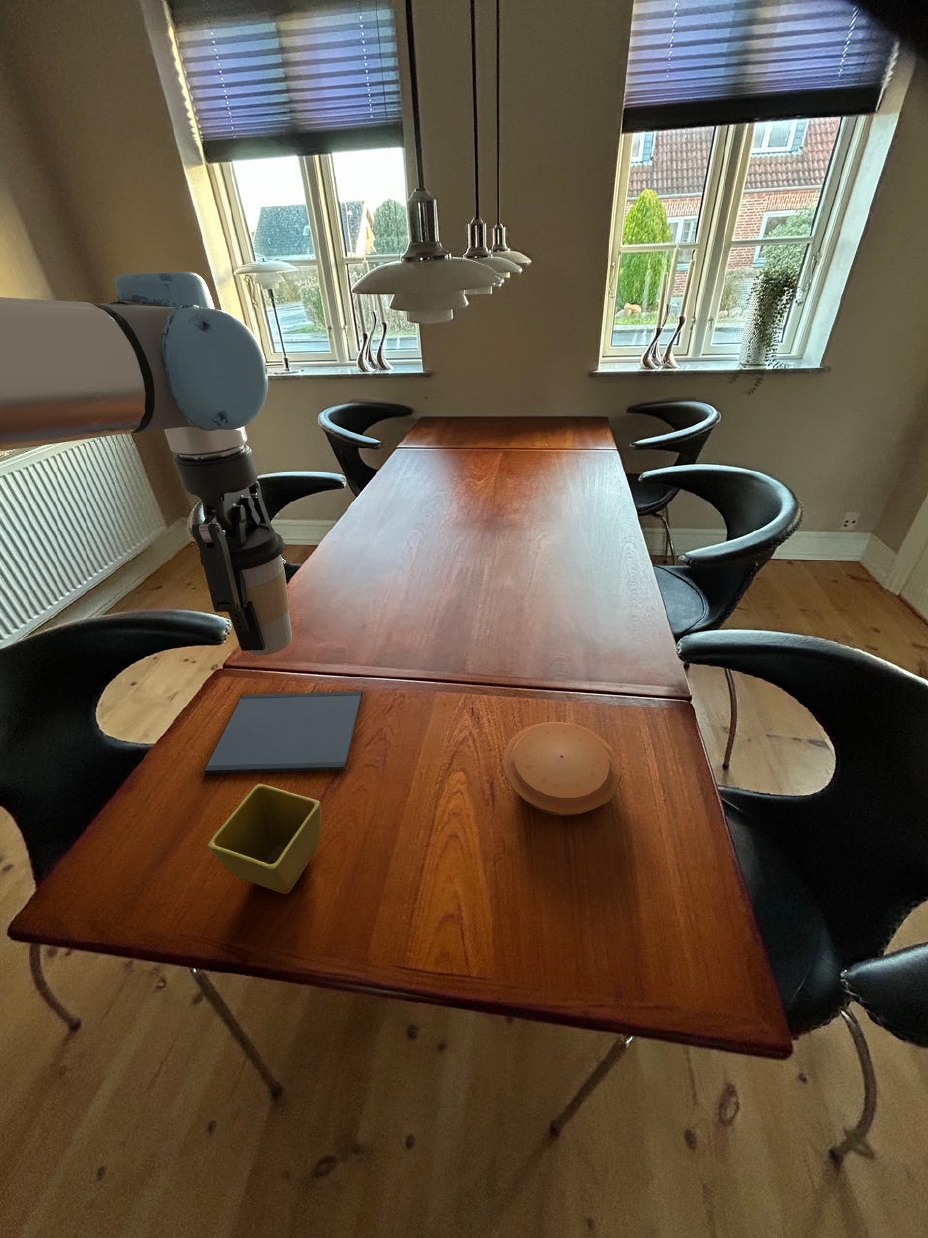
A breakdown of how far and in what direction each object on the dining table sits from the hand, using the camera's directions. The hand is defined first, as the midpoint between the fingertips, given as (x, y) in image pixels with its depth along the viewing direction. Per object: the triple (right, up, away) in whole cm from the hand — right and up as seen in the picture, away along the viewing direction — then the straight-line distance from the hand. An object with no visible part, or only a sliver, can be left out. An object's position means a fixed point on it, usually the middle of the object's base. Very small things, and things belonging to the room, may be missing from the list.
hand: (265, 627), depth 68 cm
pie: (+38, -21, +5) cm, 44 cm away
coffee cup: (0, -2, +1) cm, 2 cm away
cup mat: (-2, -16, +14) cm, 22 cm away
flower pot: (+4, -29, -4) cm, 30 cm away
